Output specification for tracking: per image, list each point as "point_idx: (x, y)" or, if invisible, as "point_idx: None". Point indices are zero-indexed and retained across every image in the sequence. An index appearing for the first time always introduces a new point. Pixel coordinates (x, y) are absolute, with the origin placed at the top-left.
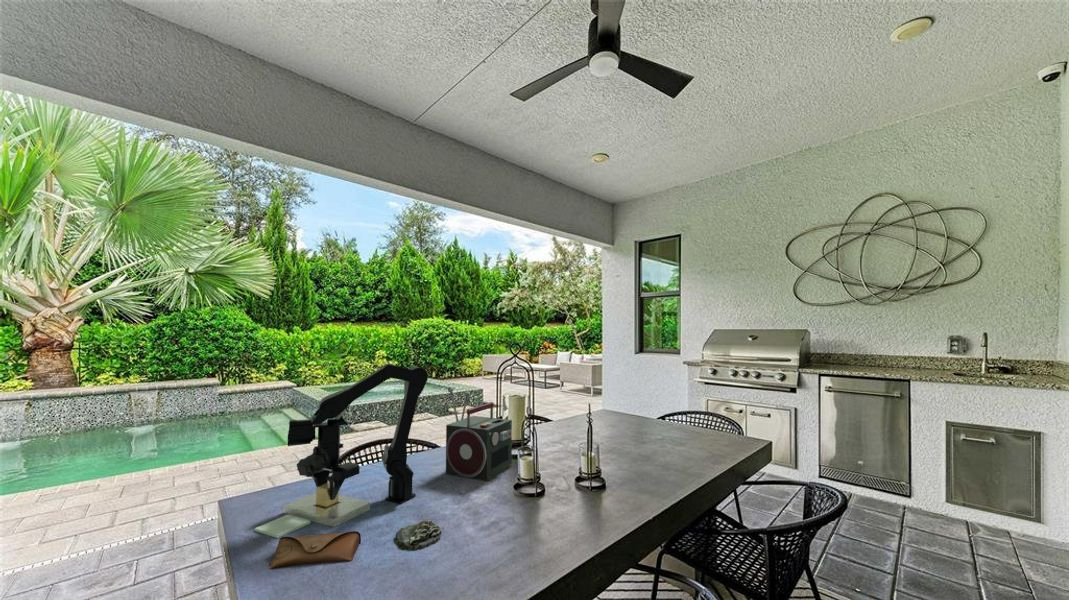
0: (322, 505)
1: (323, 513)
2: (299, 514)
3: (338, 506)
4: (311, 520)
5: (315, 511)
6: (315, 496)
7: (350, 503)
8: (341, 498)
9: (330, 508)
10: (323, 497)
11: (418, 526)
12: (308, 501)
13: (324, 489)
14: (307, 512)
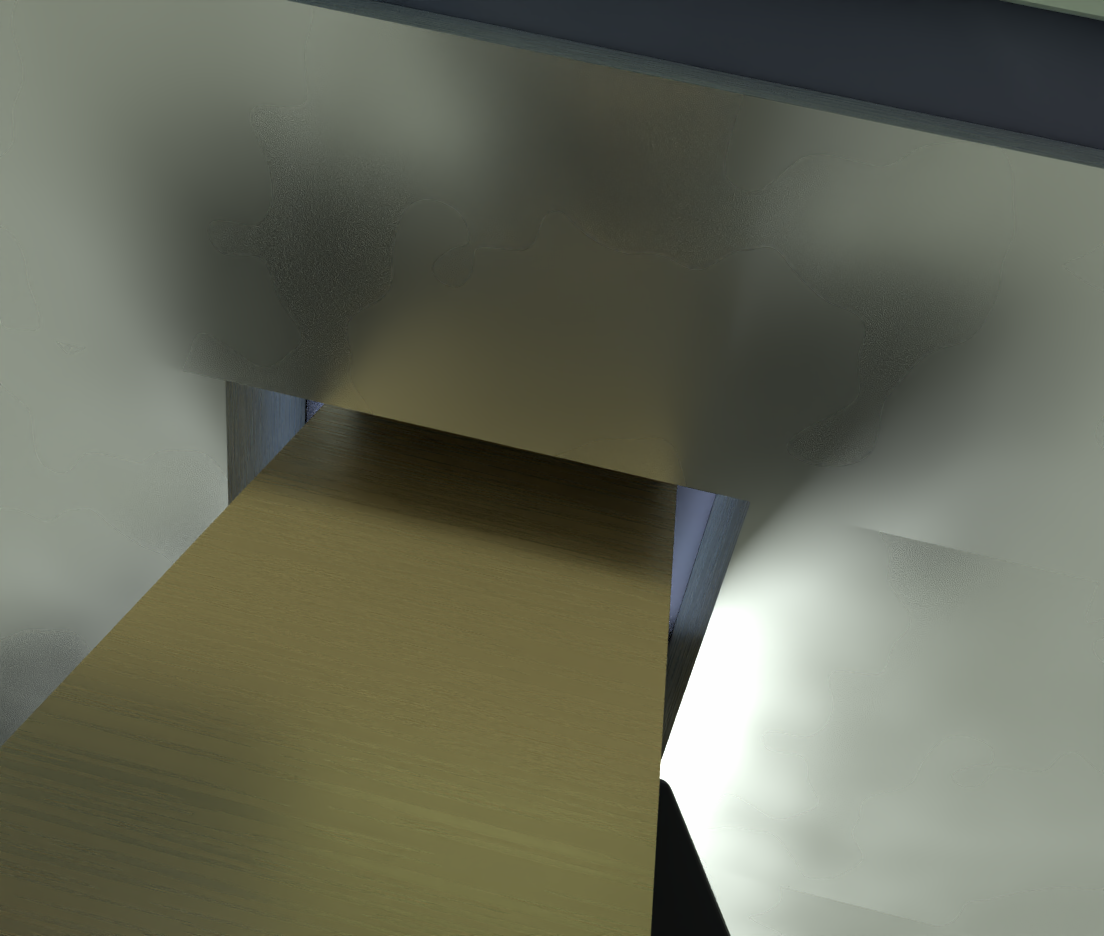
0: (406, 497)
1: (10, 102)
2: (938, 122)
3: (87, 562)
4: (425, 12)
5: (343, 163)
6: (1052, 931)
7: (11, 712)
8: None
9: (150, 437)
10: (275, 639)
11: None
12: (1064, 703)
13: (31, 902)
14: (564, 55)
